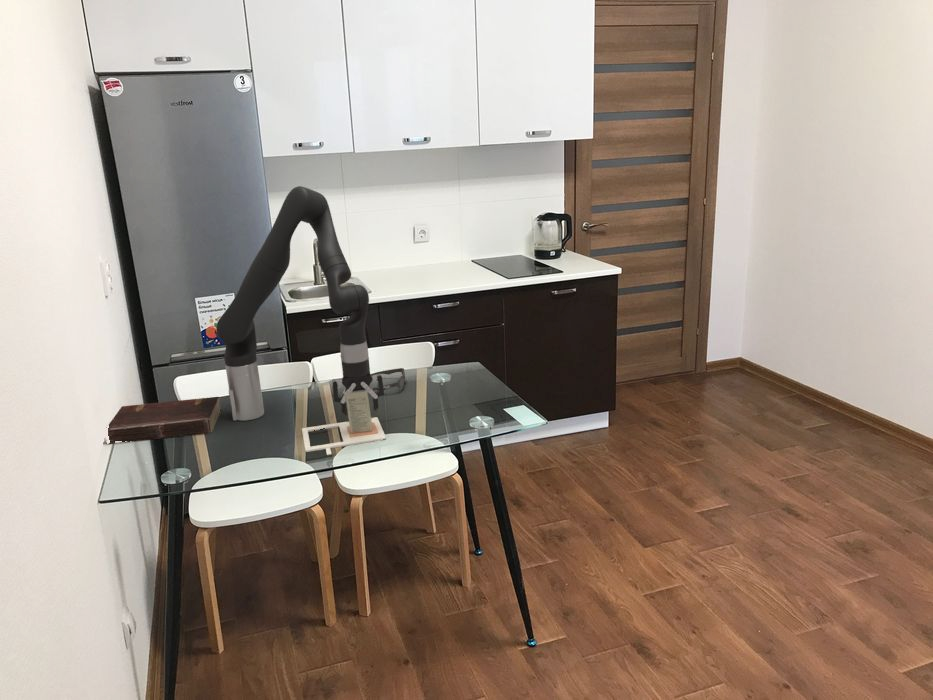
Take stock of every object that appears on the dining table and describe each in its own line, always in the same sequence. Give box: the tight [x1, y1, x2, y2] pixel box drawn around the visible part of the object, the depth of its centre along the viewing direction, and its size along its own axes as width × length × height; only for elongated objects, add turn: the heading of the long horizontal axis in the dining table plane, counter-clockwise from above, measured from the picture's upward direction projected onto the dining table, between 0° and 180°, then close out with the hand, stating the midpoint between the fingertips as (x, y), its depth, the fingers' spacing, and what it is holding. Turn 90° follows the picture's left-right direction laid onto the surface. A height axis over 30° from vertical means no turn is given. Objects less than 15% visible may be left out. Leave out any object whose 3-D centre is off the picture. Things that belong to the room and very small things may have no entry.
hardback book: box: [108, 396, 222, 445], centre depth 223 cm, size 29×19×5 cm, turn 99°
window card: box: [301, 416, 386, 456], centre depth 209 cm, size 22×20×1 cm
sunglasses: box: [370, 367, 406, 392], centre depth 246 cm, size 16×17×5 cm
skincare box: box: [345, 389, 372, 433], centre depth 210 cm, size 6×4×12 cm
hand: (360, 412), depth 210 cm, fingers open, 8 cm apart
